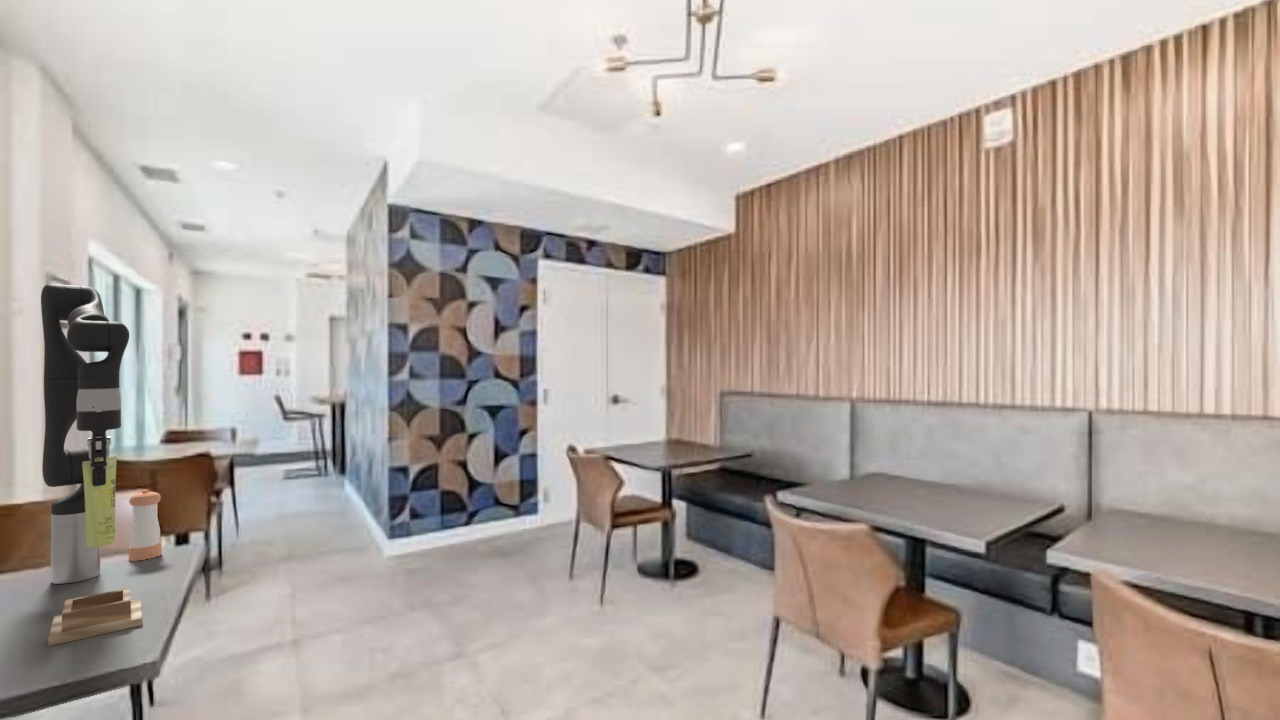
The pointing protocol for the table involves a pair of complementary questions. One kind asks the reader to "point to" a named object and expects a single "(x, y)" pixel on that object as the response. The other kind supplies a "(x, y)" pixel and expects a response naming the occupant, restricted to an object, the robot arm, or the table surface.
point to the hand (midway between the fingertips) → (99, 483)
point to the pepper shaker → (145, 526)
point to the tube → (100, 505)
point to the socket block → (95, 616)
